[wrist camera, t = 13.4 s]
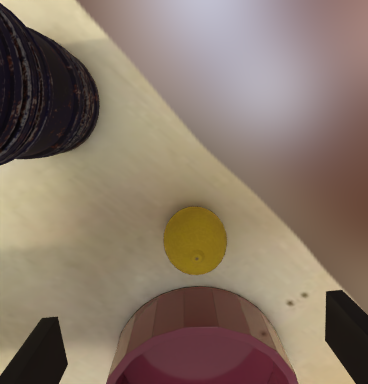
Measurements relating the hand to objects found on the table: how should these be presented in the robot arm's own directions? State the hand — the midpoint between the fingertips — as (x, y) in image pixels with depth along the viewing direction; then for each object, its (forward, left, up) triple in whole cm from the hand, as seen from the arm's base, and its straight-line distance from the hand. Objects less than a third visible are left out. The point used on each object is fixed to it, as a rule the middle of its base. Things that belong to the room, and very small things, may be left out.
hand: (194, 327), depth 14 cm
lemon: (0, 0, -16) cm, 16 cm away
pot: (+10, -13, -15) cm, 22 cm away
